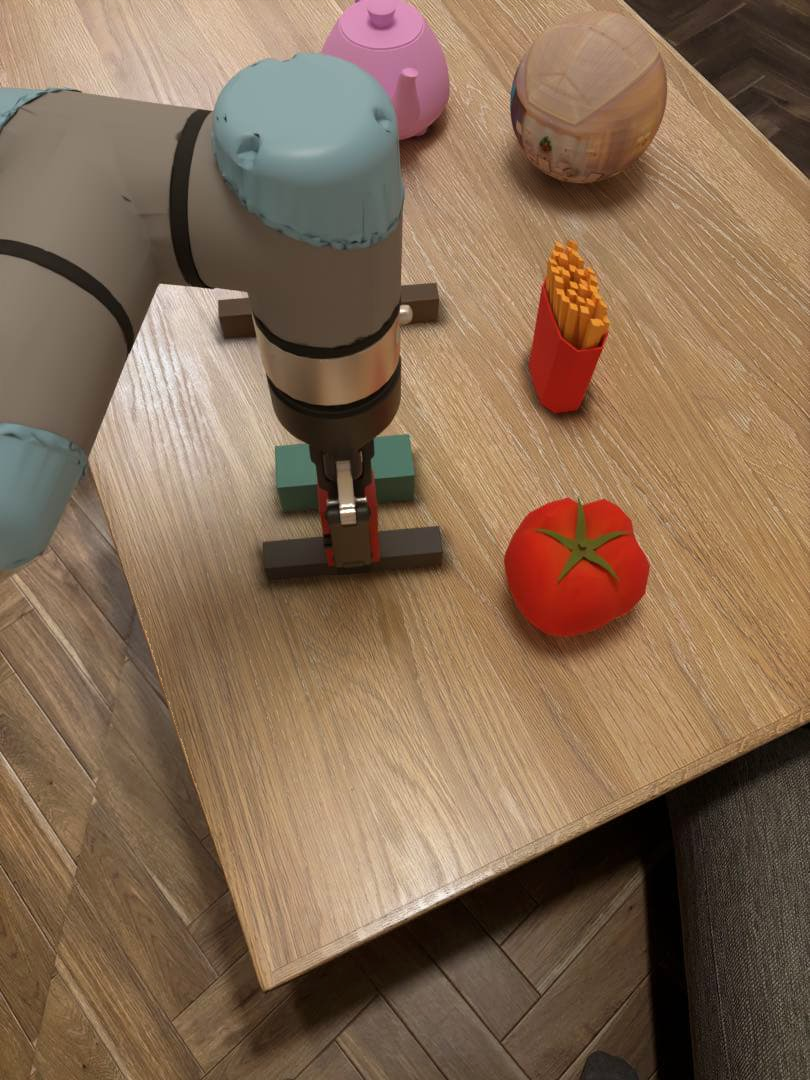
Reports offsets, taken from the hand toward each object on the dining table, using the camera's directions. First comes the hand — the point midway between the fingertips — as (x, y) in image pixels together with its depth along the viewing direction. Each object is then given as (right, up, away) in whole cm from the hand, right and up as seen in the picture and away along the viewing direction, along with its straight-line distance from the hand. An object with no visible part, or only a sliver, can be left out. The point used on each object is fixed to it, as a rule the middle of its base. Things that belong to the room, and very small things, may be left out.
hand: (352, 548), depth 68 cm
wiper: (0, -1, +2) cm, 2 cm away
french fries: (+18, +15, +10) cm, 26 cm away
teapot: (+2, +46, +26) cm, 53 cm away
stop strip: (-3, +21, +13) cm, 25 cm away
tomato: (+17, -3, +1) cm, 17 cm away
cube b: (+3, +6, +5) cm, 8 cm away
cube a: (-4, +5, +5) cm, 8 cm away
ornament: (+22, +40, +23) cm, 51 cm away
